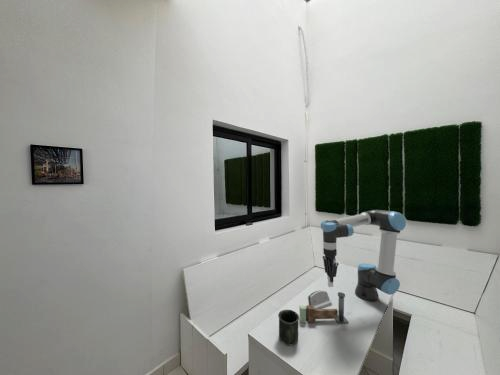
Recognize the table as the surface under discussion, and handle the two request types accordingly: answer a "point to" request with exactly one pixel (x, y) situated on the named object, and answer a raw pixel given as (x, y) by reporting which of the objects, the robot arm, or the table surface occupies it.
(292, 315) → the dark green cylindrical container
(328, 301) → the grey arched slab
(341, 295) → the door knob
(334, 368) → the table surface
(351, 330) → the table surface
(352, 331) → the table surface
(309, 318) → the wooden mallet
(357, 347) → the table surface
